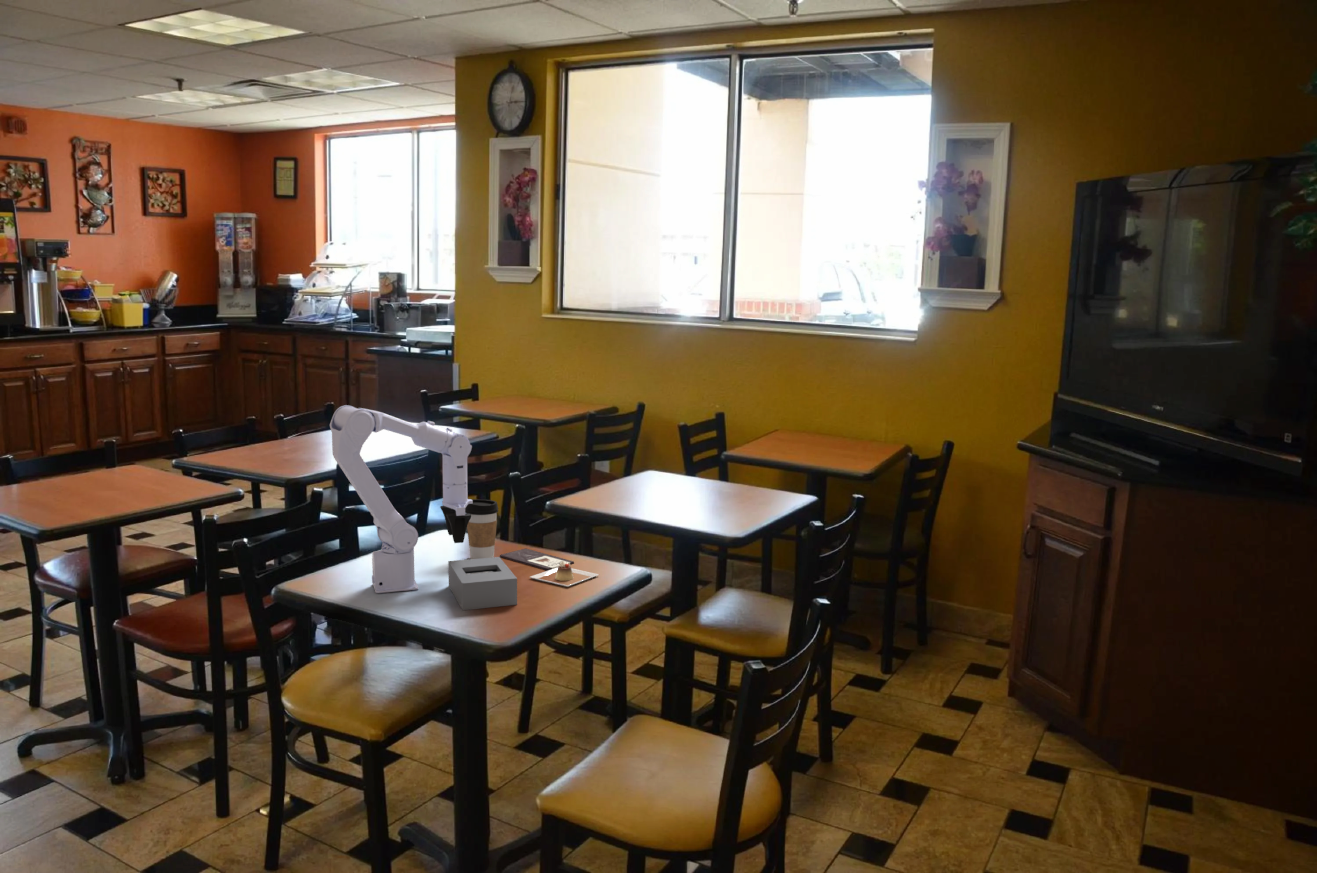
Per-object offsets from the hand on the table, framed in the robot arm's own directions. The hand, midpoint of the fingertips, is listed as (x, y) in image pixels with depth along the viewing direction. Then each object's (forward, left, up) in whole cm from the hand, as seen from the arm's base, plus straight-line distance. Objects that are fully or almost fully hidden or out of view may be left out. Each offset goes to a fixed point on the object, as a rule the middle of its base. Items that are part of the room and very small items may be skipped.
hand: (455, 538), depth 235 cm
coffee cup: (+9, +14, -10) cm, 19 cm away
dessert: (+24, -9, -10) cm, 28 cm away
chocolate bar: (+22, +8, -10) cm, 25 cm away
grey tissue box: (+3, -16, -9) cm, 19 cm away
